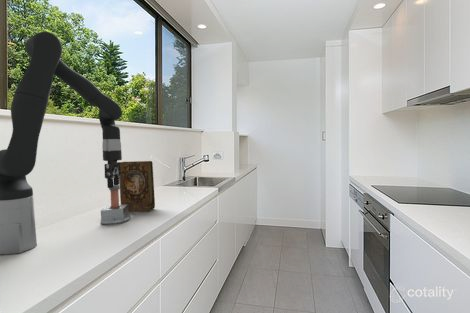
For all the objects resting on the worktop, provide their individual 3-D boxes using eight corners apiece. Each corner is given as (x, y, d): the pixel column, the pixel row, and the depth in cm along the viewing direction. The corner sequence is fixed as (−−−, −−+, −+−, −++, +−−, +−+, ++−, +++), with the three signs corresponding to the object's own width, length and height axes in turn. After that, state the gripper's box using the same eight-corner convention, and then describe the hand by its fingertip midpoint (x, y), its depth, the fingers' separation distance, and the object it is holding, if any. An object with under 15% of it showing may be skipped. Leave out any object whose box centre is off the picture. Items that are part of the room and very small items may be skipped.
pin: (119, 217, 113) (117, 186, 113) (109, 217, 113) (107, 186, 112) (121, 214, 117) (120, 184, 117) (112, 215, 117) (110, 185, 116)
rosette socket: (126, 223, 110) (125, 209, 110) (96, 225, 108) (95, 211, 108) (133, 215, 122) (132, 203, 122) (105, 217, 120) (105, 205, 120)
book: (119, 212, 130) (116, 162, 129) (125, 209, 135) (122, 161, 134) (150, 211, 128) (148, 161, 127) (155, 209, 134) (152, 160, 133)
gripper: (108, 149, 120) (109, 184, 121) (96, 150, 106) (98, 189, 107) (125, 149, 121) (126, 183, 122) (116, 149, 107) (117, 188, 108)
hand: (113, 186), depth 114 cm, fingers open, 8 cm apart
